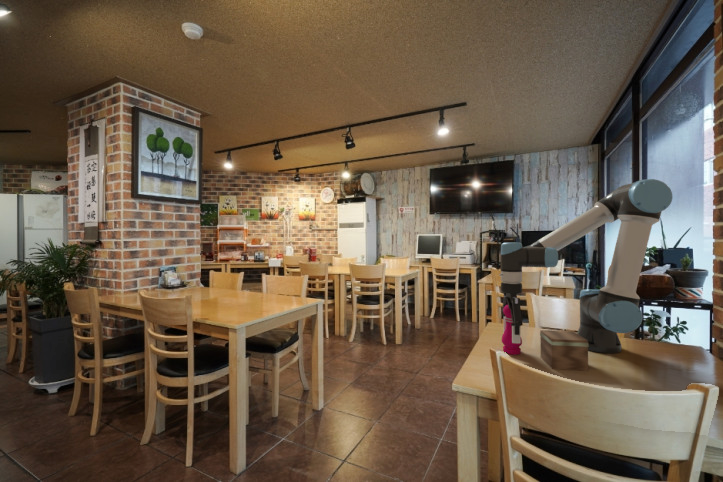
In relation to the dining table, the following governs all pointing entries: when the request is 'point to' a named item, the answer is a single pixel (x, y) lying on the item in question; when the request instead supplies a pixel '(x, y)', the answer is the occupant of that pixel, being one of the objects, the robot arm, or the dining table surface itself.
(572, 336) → the walnut box
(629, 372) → the dining table surface
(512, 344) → the pepper mill
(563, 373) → the dining table surface
